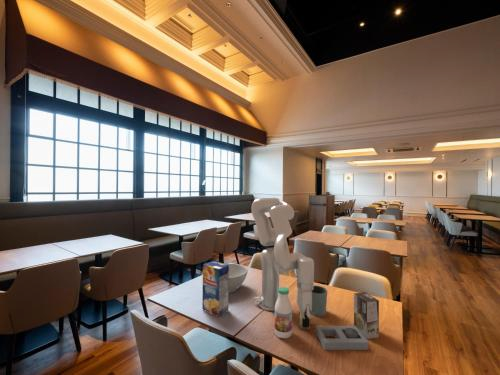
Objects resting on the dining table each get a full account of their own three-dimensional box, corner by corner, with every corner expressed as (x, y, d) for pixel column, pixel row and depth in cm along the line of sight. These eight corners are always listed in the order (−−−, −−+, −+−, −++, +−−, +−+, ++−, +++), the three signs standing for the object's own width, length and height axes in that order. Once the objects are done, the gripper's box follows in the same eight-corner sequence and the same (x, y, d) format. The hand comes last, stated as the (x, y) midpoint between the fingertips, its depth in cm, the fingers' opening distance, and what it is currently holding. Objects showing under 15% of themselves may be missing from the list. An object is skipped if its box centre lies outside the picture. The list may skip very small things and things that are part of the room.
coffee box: (379, 337, 101) (379, 300, 101) (366, 339, 100) (367, 302, 100) (365, 325, 110) (365, 291, 110) (353, 327, 109) (353, 292, 109)
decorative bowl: (255, 286, 153) (255, 268, 153) (230, 303, 130) (231, 281, 130) (223, 277, 167) (223, 260, 167) (196, 291, 144) (197, 272, 145)
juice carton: (202, 309, 123) (202, 264, 123) (212, 303, 129) (212, 261, 129) (218, 316, 116) (219, 269, 116) (228, 310, 122) (228, 265, 122)
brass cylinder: (300, 329, 106) (301, 310, 105) (298, 324, 110) (298, 305, 110) (310, 329, 106) (310, 310, 106) (307, 324, 110) (308, 305, 110)
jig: (324, 349, 93) (324, 339, 93) (316, 332, 104) (316, 323, 104) (368, 349, 93) (368, 339, 93) (355, 332, 104) (355, 323, 104)
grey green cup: (327, 309, 125) (327, 286, 125) (327, 319, 115) (327, 294, 115) (308, 305, 128) (308, 284, 128) (306, 315, 118) (306, 291, 118)
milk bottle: (273, 328, 107) (273, 285, 107) (289, 328, 107) (289, 285, 107) (276, 339, 99) (276, 293, 99) (293, 338, 100) (294, 292, 100)
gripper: (293, 277, 116) (292, 313, 116) (301, 293, 99) (300, 335, 99) (308, 277, 116) (307, 313, 116) (318, 293, 99) (317, 335, 99)
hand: (304, 322), depth 108 cm, fingers closed on brass cylinder, 4 cm apart
